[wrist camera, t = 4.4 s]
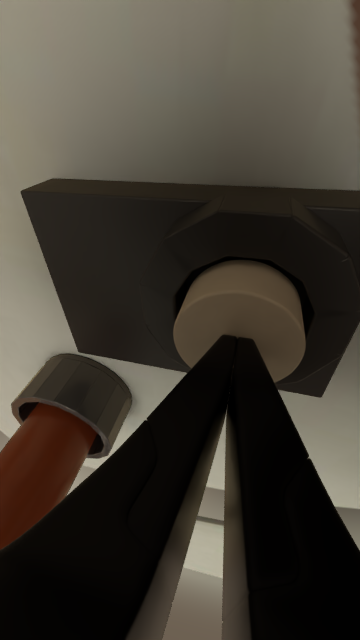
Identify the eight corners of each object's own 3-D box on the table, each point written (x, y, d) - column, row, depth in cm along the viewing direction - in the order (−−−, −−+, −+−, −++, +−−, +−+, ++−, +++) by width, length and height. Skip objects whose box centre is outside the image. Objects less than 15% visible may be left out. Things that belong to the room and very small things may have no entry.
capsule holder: (124, 364, 17) (98, 412, 15) (137, 422, 22) (118, 467, 19) (31, 346, 19) (-8, 387, 16) (61, 404, 23) (34, 444, 20)
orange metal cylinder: (107, 377, 18) (-9, 578, 11) (118, 415, 21) (32, 595, 13) (49, 365, 19) (-96, 542, 12) (67, 403, 22) (-41, 565, 14)
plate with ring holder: (396, 183, 8) (453, 224, 6) (316, 366, 14) (327, 431, 11) (49, 171, 11) (-22, 195, 8) (95, 329, 16) (60, 375, 13)
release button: (315, 265, 7) (324, 302, 6) (286, 357, 10) (288, 398, 8) (186, 252, 8) (169, 283, 7) (186, 341, 10) (174, 376, 9)
